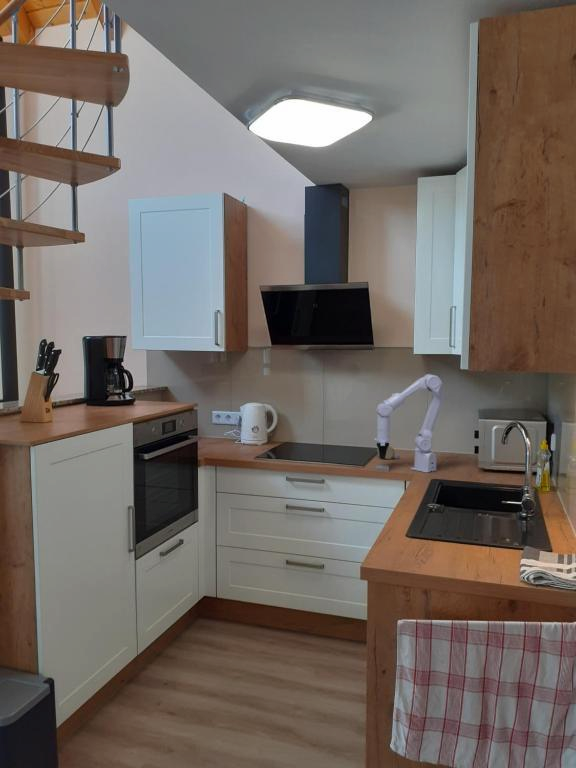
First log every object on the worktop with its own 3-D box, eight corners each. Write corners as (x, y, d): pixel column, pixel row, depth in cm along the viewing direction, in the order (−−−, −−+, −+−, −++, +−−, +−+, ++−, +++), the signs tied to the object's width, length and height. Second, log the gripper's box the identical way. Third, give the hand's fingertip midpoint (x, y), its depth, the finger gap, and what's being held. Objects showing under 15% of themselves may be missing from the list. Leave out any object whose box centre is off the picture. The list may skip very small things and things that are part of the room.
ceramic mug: (380, 460, 300) (381, 444, 299) (376, 456, 308) (377, 441, 307) (401, 460, 301) (402, 445, 300) (397, 457, 309) (397, 442, 308)
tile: (375, 465, 280) (375, 468, 274) (388, 465, 279) (388, 468, 273) (375, 469, 280) (375, 472, 274) (388, 469, 279) (388, 472, 273)
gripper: (374, 427, 284) (374, 455, 285) (374, 431, 270) (373, 461, 271) (389, 427, 283) (389, 456, 284) (389, 432, 269) (389, 462, 270)
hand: (382, 458), depth 278 cm, fingers closed
